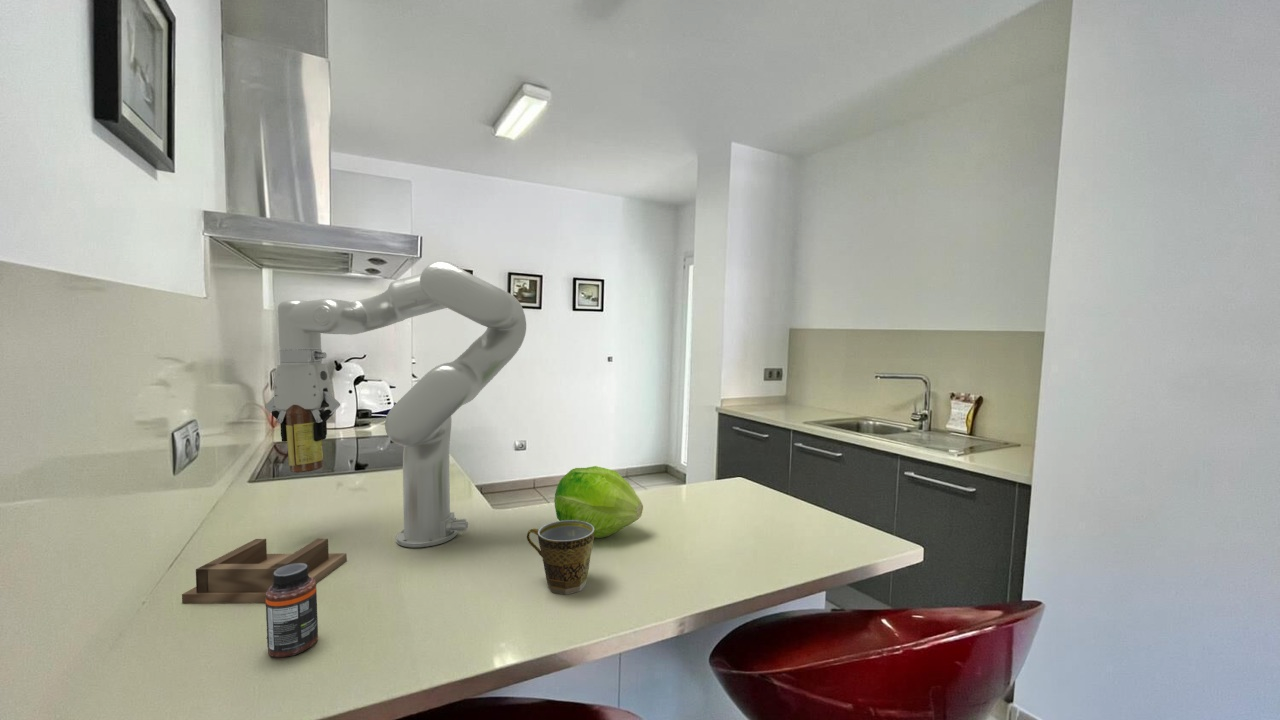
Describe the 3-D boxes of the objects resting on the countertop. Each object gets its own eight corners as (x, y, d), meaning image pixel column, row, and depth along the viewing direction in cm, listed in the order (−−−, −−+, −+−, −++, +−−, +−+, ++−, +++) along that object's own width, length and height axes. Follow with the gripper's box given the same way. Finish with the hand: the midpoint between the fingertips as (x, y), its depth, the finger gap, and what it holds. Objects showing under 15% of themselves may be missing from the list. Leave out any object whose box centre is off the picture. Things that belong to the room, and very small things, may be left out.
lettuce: (625, 563, 102) (629, 494, 99) (538, 542, 108) (540, 477, 105) (648, 525, 118) (652, 465, 115) (571, 509, 123) (573, 452, 121)
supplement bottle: (284, 635, 73) (282, 560, 73) (326, 633, 74) (324, 558, 73) (256, 661, 67) (254, 579, 67) (303, 658, 68) (300, 577, 67)
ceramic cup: (603, 577, 91) (603, 523, 91) (579, 604, 82) (579, 544, 81) (541, 567, 95) (541, 515, 95) (512, 591, 86) (511, 534, 86)
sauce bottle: (330, 466, 111) (327, 378, 110) (308, 473, 105) (305, 380, 104) (303, 466, 112) (299, 378, 111) (280, 473, 105) (276, 380, 105)
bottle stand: (346, 560, 99) (346, 533, 98) (289, 602, 83) (289, 570, 82) (256, 561, 99) (255, 533, 98) (182, 603, 83) (181, 570, 82)
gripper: (350, 356, 111) (353, 436, 112) (274, 358, 111) (277, 437, 112) (330, 357, 104) (333, 443, 104) (247, 359, 104) (251, 444, 104)
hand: (304, 439), depth 108 cm, fingers closed on sauce bottle, 6 cm apart
